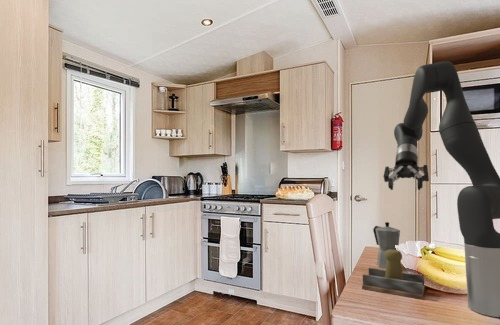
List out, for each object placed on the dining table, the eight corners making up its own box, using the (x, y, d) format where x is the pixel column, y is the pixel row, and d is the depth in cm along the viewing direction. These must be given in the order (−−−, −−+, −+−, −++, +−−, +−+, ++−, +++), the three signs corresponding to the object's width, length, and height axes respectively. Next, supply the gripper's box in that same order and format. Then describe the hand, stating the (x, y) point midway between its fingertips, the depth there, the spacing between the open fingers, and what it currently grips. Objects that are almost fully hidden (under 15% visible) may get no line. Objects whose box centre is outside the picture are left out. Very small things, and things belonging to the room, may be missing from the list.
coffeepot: (410, 270, 117) (408, 223, 118) (390, 271, 115) (388, 224, 116) (384, 260, 132) (382, 219, 133) (365, 261, 130) (364, 220, 131)
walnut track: (424, 286, 98) (424, 274, 99) (422, 299, 87) (421, 285, 88) (370, 278, 108) (370, 266, 108) (362, 288, 97) (361, 276, 97)
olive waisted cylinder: (407, 287, 94) (405, 252, 95) (386, 286, 95) (385, 251, 96) (401, 281, 100) (400, 248, 101) (382, 280, 101) (381, 247, 102)
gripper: (384, 151, 116) (381, 180, 105) (427, 148, 108) (427, 180, 97) (387, 166, 120) (384, 195, 109) (429, 164, 112) (429, 195, 101)
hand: (404, 188), depth 103 cm, fingers open, 8 cm apart
